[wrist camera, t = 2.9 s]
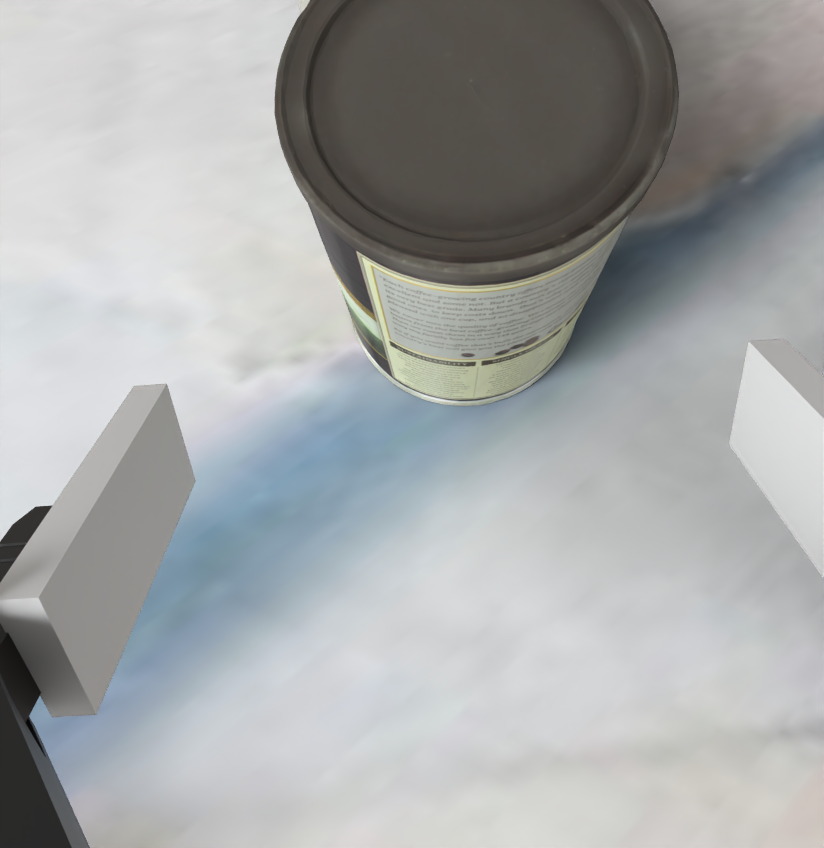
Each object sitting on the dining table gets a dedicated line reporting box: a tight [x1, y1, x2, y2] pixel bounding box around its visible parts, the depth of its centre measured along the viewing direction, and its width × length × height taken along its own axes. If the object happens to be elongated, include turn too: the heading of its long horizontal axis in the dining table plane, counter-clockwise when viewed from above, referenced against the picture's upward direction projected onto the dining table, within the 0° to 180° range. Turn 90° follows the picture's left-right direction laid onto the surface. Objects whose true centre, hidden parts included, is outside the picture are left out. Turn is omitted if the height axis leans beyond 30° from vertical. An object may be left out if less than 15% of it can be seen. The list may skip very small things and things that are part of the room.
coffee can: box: [275, 0, 679, 406], centre depth 25 cm, size 10×10×14 cm
